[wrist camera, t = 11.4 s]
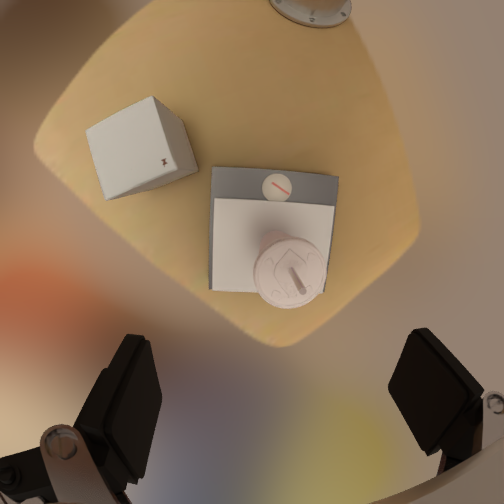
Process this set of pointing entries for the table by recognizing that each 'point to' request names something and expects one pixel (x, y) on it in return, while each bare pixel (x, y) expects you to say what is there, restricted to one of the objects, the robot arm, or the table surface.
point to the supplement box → (140, 149)
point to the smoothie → (288, 270)
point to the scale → (264, 218)
